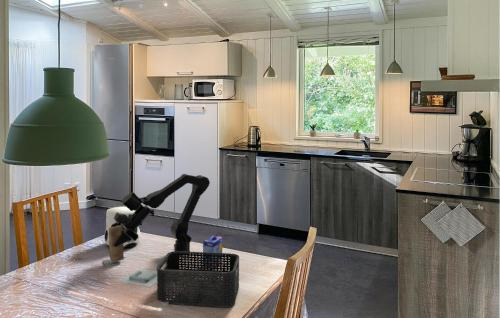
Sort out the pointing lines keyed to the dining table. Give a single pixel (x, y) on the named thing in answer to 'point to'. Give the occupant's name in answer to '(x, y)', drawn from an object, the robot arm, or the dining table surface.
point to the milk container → (112, 223)
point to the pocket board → (141, 278)
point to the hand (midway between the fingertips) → (113, 244)
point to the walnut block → (114, 234)
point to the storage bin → (200, 290)
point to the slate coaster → (109, 262)
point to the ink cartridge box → (213, 245)
